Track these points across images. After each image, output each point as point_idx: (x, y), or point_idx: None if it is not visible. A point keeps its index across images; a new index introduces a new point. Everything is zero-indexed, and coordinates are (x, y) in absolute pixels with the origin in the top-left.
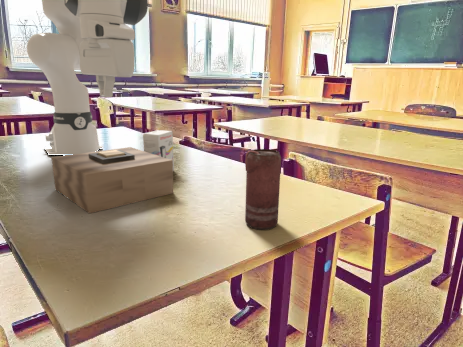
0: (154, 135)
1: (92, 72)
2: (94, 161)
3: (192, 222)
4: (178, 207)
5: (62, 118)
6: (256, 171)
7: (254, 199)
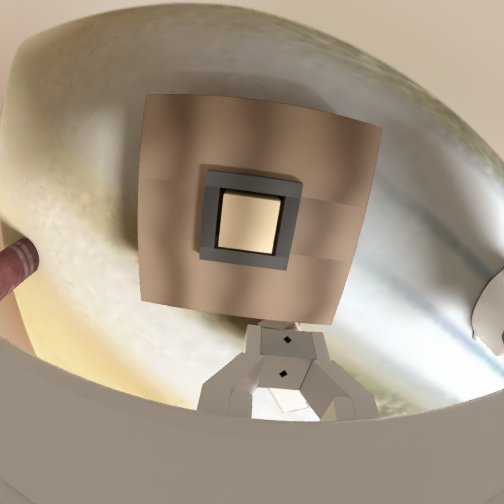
0: None
1: (400, 426)
2: (252, 169)
3: (58, 202)
4: (104, 226)
5: None
6: None
7: (1, 251)
